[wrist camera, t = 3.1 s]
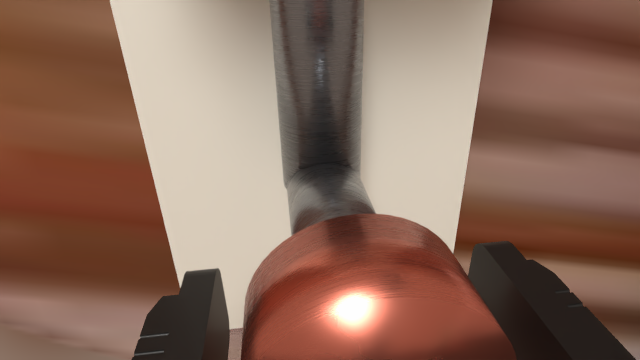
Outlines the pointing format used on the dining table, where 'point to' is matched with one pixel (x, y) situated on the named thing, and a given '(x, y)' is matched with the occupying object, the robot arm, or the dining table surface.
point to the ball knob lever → (349, 225)
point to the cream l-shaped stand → (263, 123)
